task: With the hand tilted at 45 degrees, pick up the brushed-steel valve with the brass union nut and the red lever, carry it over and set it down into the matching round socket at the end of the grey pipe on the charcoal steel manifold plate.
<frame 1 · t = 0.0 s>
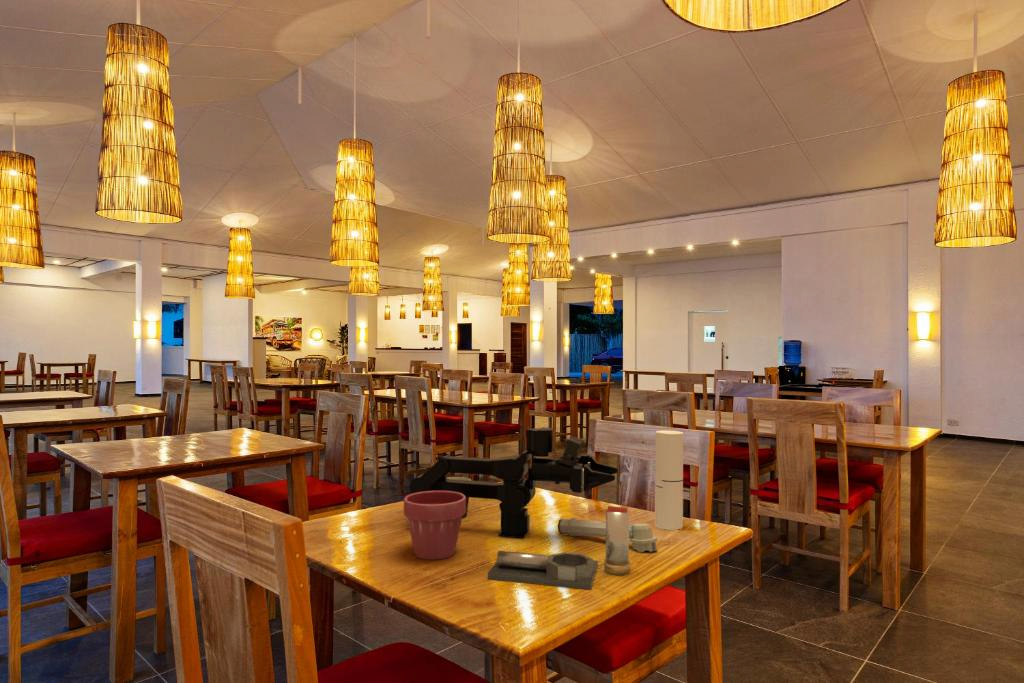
hand: (616, 474, 147), 17 cm above the table, tool horizontal, fingers open, 9 cm apart
coffee mug: (455, 515, 170), on the table
manifold: (569, 578, 123), on the table
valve: (617, 570, 128), on the table
grey piece: (605, 543, 147), on the table
plant pot: (434, 554, 138), on the table
cylindrical container: (668, 527, 161), on the table
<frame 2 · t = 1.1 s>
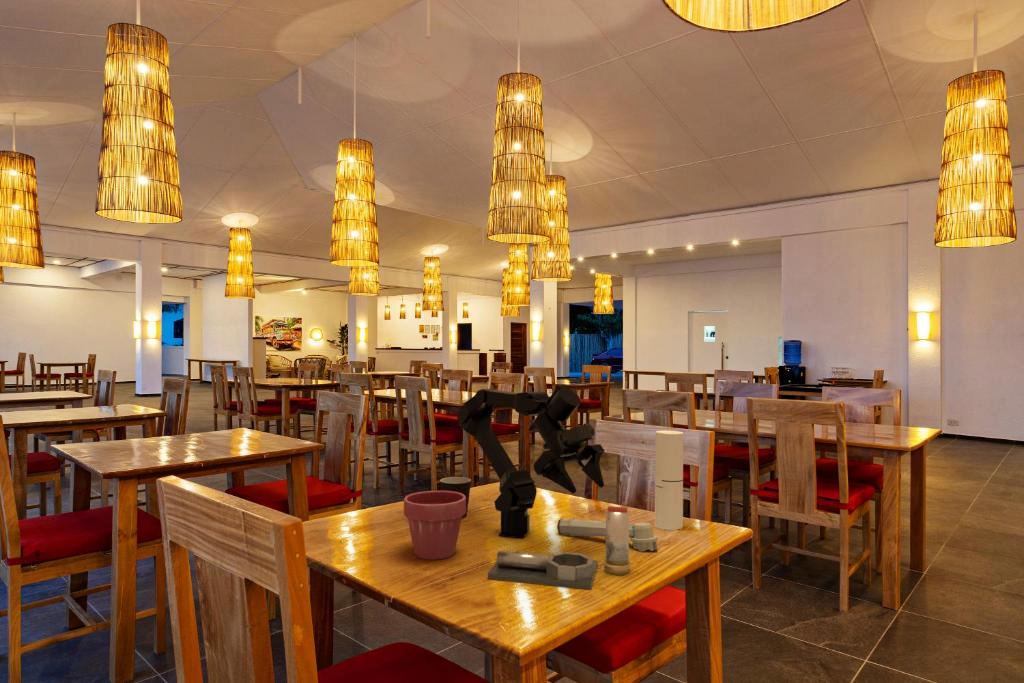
hand: (589, 489, 134), 16 cm above the table, tool tilted 45°, fingers open, 9 cm apart
nothing on the table moved.
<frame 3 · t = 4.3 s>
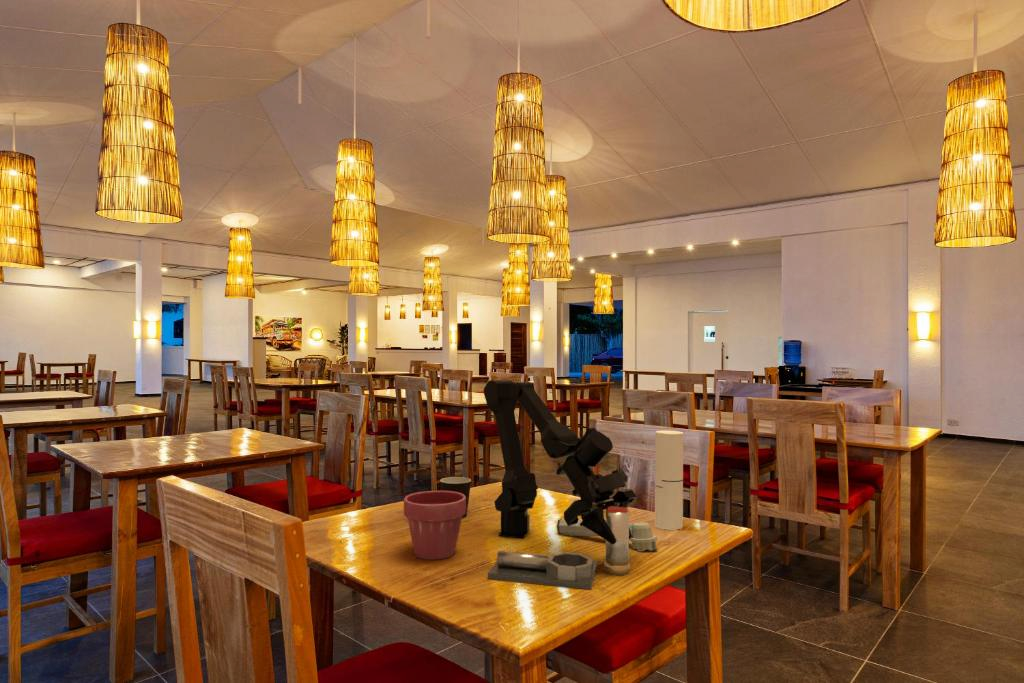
hand: (622, 540, 127), 7 cm above the table, tool tilted 45°, fingers closed on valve, 5 cm apart
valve: (617, 570, 128), on the table, touching gripper
everything else where it was.
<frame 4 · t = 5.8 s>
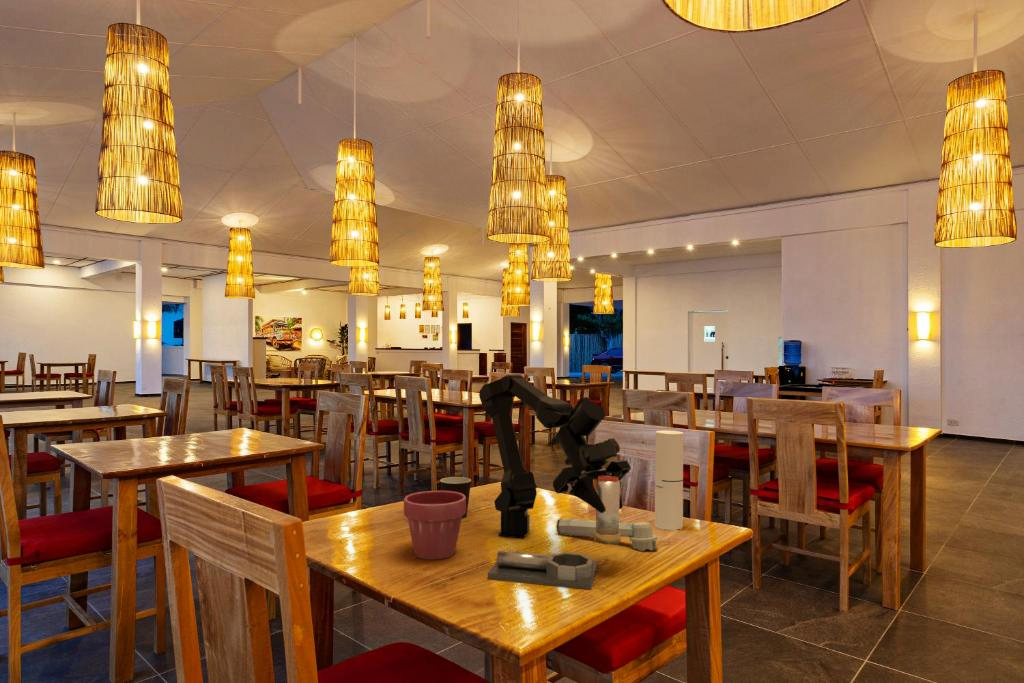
hand: (612, 510, 126), 13 cm above the table, tool tilted 45°, fingers closed on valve, 5 cm apart
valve: (607, 540, 127), point 7 cm above the table, touching gripper
everything else where it was.
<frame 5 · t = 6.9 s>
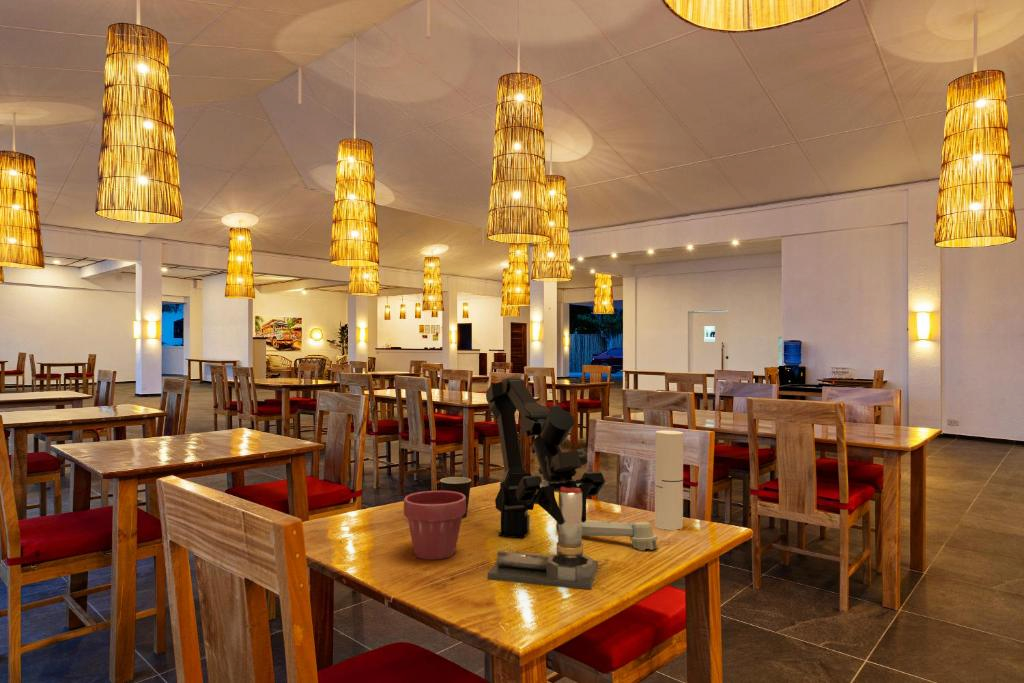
hand: (573, 522, 122), 12 cm above the table, tool tilted 45°, fingers closed on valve, 5 cm apart
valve: (569, 553, 123), point 5 cm above the table, touching gripper
everything else where it was.
when the fingers open (9 cm above the table, at t = 7.7 s): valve drops 2 cm, resting on manifold.
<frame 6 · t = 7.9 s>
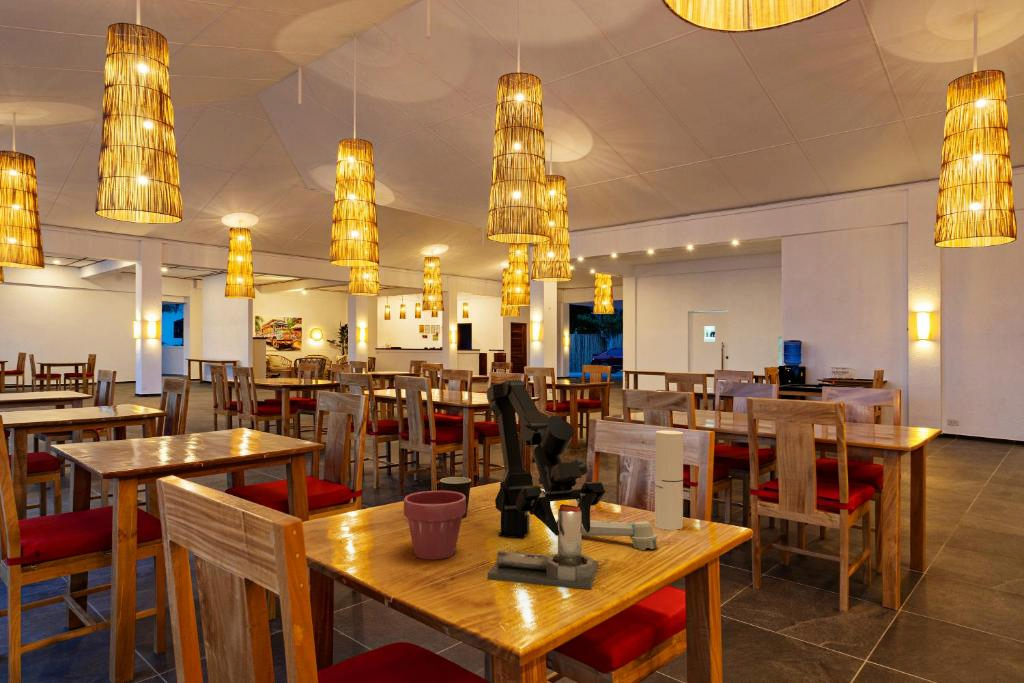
hand: (573, 533, 122), 10 cm above the table, tool tilted 45°, fingers open, 7 cm apart
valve: (569, 572, 123), point 1 cm above the table, touching manifold
everything else where it was.
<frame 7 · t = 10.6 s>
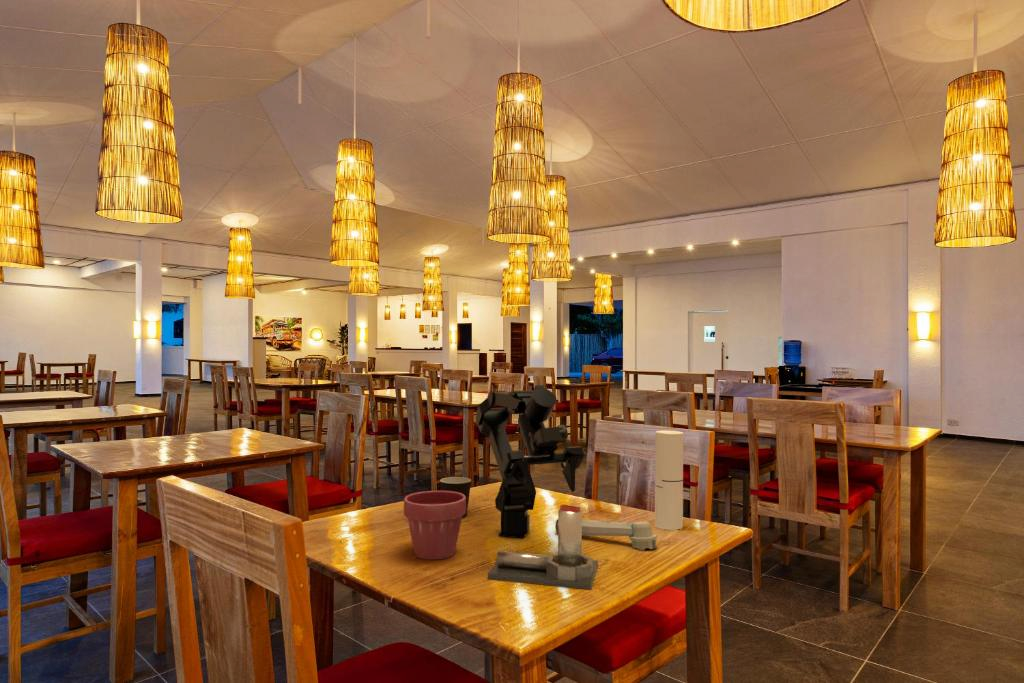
hand: (554, 492, 131), 15 cm above the table, tool tilted 45°, fingers open, 9 cm apart
nothing on the table moved.
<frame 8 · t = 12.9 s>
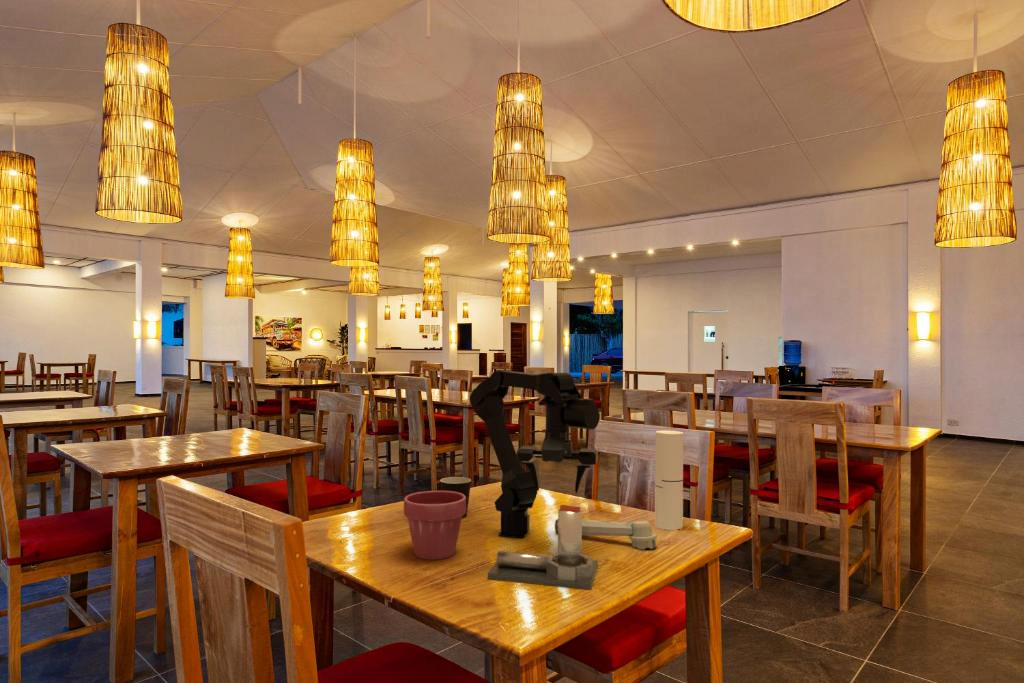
hand: (557, 491, 143), 13 cm above the table, tool pointing down, fingers open, 9 cm apart
at the end: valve 0.1 cm off-centre on the manifold, point 1.2 cm above the manifold's base; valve tilted 0°; the gripper is holding nothing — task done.
